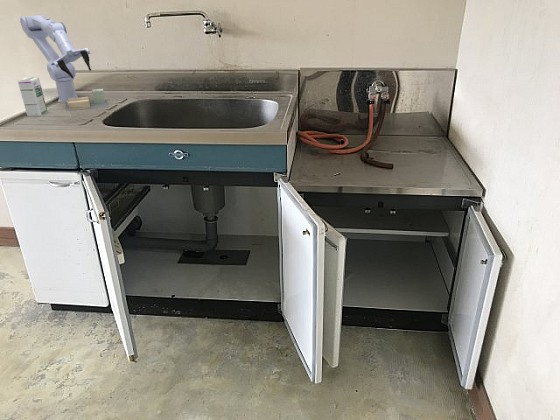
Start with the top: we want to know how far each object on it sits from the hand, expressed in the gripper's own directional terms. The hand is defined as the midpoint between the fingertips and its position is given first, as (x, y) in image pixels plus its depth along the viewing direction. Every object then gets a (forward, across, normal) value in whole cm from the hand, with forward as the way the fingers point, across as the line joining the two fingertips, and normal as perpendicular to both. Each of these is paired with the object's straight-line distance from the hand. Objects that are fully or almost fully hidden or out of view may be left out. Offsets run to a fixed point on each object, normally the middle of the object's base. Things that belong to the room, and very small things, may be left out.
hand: (81, 73), depth 192 cm
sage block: (+6, +1, +15) cm, 16 cm away
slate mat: (+8, -4, +12) cm, 15 cm away
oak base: (+8, -7, +10) cm, 14 cm away
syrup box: (+7, -23, +4) cm, 24 cm away
